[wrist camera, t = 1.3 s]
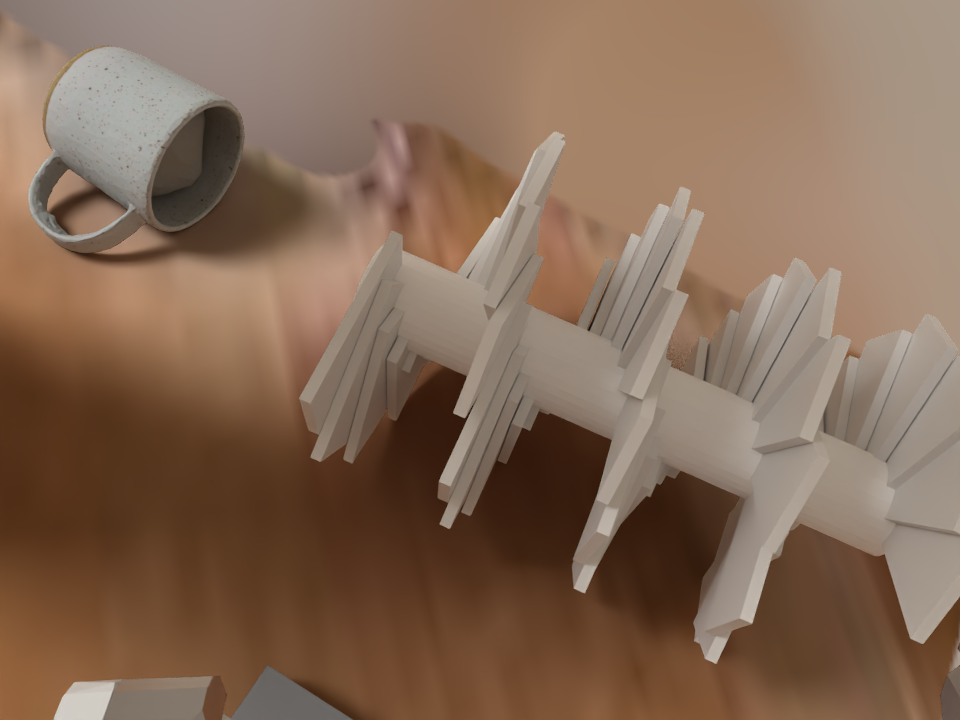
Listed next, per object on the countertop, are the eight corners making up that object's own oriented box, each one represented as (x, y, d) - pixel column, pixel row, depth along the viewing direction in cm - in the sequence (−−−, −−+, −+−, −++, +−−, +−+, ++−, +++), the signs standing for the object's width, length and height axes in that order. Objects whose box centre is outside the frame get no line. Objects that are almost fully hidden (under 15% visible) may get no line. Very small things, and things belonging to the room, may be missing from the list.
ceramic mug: (135, 118, 54) (125, 6, 48) (245, 185, 53) (250, 80, 47) (-7, 213, 48) (-39, 98, 42) (115, 292, 47) (101, 186, 41)
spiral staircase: (381, 371, 53) (780, 549, 51) (237, 534, 37) (810, 801, 35) (486, 66, 45) (963, 263, 43) (361, 107, 29) (1107, 421, 27)
